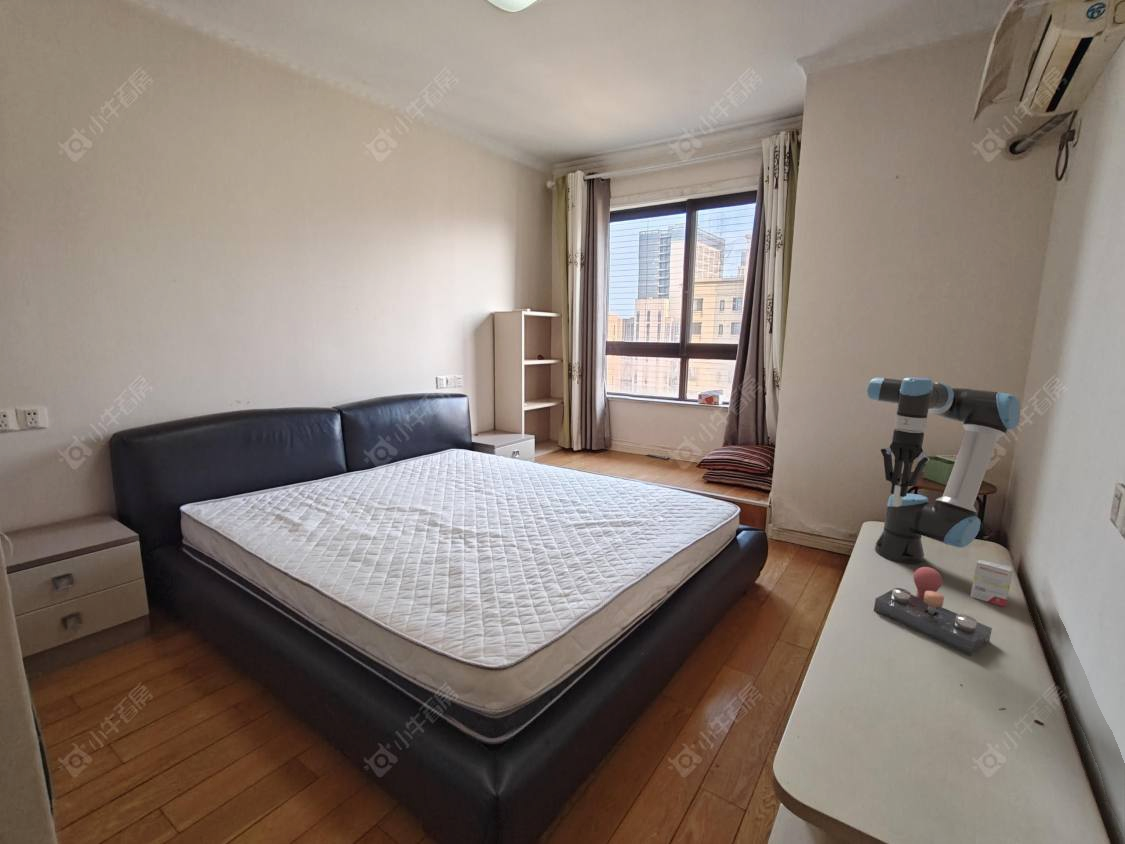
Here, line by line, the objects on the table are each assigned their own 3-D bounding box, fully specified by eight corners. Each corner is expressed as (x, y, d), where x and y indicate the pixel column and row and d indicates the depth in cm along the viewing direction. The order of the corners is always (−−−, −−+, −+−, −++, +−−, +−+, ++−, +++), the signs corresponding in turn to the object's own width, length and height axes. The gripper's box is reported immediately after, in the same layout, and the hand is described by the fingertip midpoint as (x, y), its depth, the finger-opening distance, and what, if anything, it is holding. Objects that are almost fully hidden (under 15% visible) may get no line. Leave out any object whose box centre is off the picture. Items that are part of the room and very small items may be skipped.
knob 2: (925, 608, 146) (929, 589, 145) (943, 615, 142) (947, 596, 141) (918, 612, 144) (921, 593, 142) (936, 620, 140) (939, 600, 139)
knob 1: (894, 604, 153) (897, 586, 152) (910, 611, 149) (913, 593, 148) (886, 608, 151) (889, 590, 150) (902, 615, 147) (906, 597, 146)
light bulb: (942, 612, 150) (949, 575, 148) (915, 609, 152) (922, 572, 149) (930, 600, 157) (937, 564, 155) (904, 597, 158) (911, 561, 156)
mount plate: (893, 599, 157) (895, 587, 156) (989, 641, 137) (992, 628, 136) (873, 610, 150) (875, 598, 150) (970, 656, 131) (973, 642, 130)
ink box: (1006, 601, 157) (1014, 566, 155) (1005, 607, 154) (1013, 571, 152) (971, 591, 163) (978, 557, 161) (969, 596, 160) (976, 562, 157)
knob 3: (956, 632, 140) (960, 612, 139) (975, 640, 136) (979, 620, 135) (949, 637, 138) (953, 617, 136) (968, 645, 134) (973, 625, 133)
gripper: (879, 427, 153) (868, 500, 158) (928, 435, 143) (914, 514, 147) (891, 424, 157) (880, 496, 162) (940, 433, 147) (926, 510, 151)
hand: (896, 505), depth 155 cm, fingers closed
